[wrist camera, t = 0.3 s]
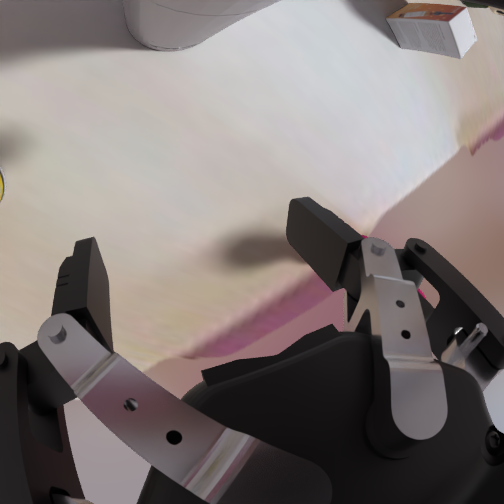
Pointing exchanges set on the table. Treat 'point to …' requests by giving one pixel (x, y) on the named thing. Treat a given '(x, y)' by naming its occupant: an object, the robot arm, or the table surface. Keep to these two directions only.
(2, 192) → the supplement bottle
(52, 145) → the table surface
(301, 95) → the table surface
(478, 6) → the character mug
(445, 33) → the small box
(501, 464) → the robot arm
